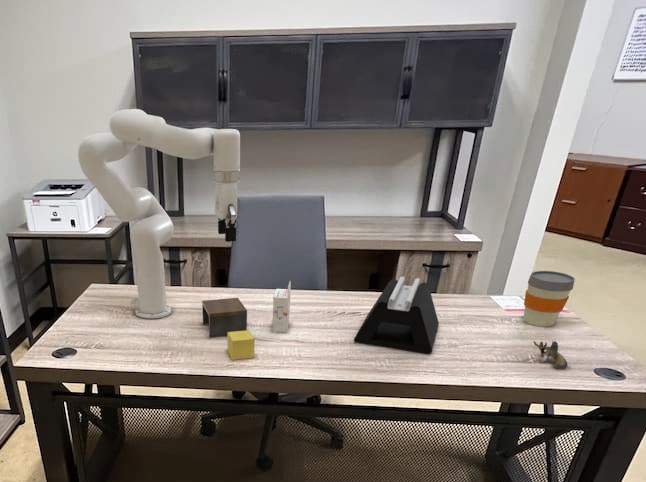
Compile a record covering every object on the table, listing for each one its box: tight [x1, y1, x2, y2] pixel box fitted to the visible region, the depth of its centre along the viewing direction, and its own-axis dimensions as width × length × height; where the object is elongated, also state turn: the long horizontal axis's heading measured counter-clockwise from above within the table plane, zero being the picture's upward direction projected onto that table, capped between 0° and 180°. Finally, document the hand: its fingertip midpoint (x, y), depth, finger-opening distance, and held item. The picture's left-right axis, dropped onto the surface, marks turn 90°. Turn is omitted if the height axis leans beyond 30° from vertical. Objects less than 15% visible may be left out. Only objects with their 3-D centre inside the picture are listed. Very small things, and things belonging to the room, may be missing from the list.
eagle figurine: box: [533, 339, 568, 370], centre depth 147 cm, size 8×7×9 cm
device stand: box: [353, 276, 440, 355], centre depth 163 cm, size 22×22×15 cm
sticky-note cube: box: [226, 329, 256, 361], centre depth 155 cm, size 6×6×6 cm
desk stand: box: [201, 297, 248, 339], centre depth 171 cm, size 12×12×8 cm
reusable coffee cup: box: [523, 270, 576, 328], centre depth 170 cm, size 13×13×15 cm
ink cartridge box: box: [271, 280, 292, 333], centre depth 169 cm, size 9×5×15 cm, turn 168°
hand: (226, 237), depth 162 cm, fingers open, 9 cm apart
